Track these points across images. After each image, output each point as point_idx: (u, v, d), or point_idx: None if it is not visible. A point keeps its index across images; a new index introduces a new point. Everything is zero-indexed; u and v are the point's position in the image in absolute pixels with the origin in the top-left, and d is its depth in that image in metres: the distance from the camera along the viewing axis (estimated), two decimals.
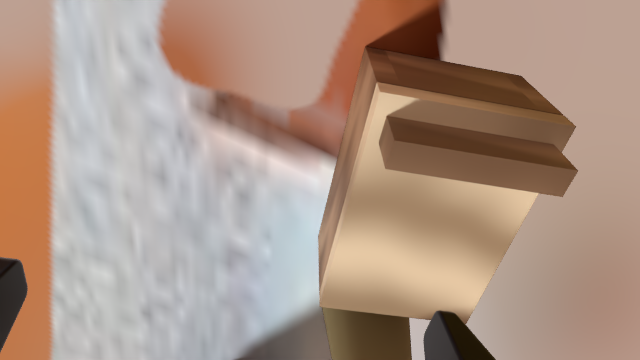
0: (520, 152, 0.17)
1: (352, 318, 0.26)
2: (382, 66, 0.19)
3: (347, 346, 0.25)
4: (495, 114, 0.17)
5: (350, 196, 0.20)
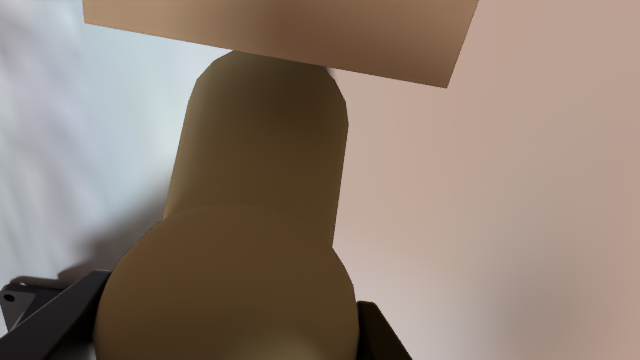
0: None
1: (211, 117, 0.12)
2: None
3: (187, 161, 0.11)
4: None
5: None
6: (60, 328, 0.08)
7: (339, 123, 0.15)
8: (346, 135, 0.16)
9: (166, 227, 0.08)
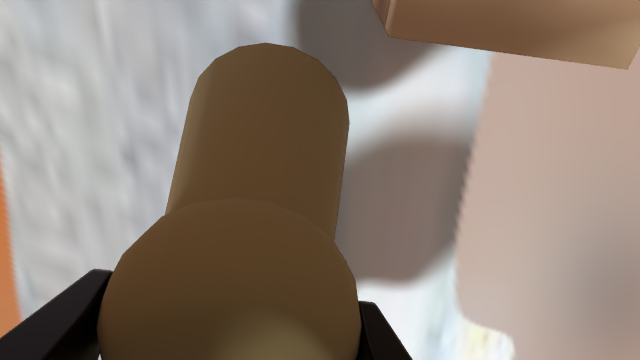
0: None
1: (213, 114, 0.13)
2: None
3: (190, 157, 0.12)
4: None
5: None
6: (60, 328, 0.08)
7: (340, 121, 0.15)
8: (347, 133, 0.16)
9: (170, 221, 0.08)
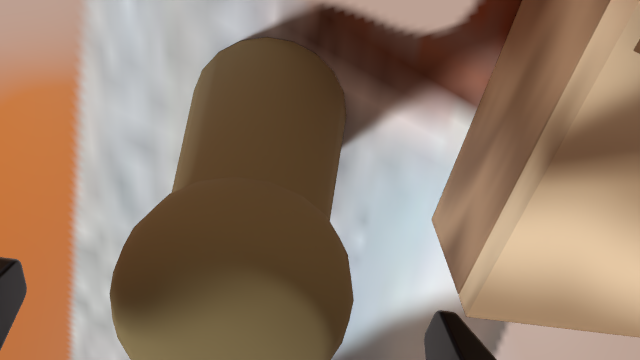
0: None
1: (217, 103, 0.13)
2: None
3: (195, 142, 0.12)
4: None
5: (557, 146, 0.12)
6: None
7: (337, 112, 0.16)
8: (344, 124, 0.17)
9: (178, 196, 0.09)
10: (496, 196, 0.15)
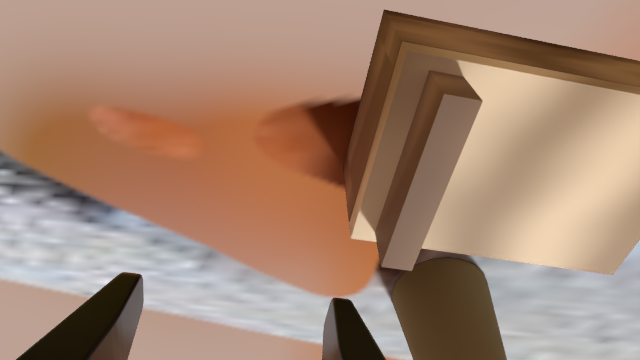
0: (418, 141, 0.15)
1: None
2: (348, 187, 0.21)
3: None
4: (382, 140, 0.16)
5: (462, 252, 0.19)
6: (95, 332, 0.08)
7: (436, 288, 0.26)
8: (449, 272, 0.26)
9: None
10: None
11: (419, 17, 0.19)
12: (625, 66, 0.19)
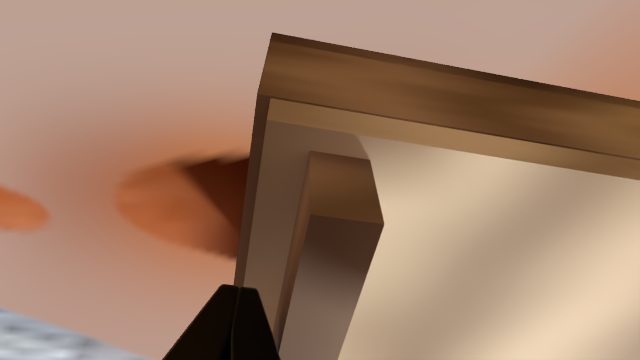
0: (291, 272, 0.09)
1: None
2: None
3: None
4: (252, 251, 0.10)
5: None
6: (215, 344, 0.08)
7: None
8: None
9: None
10: None
11: (324, 43, 0.13)
12: (626, 115, 0.13)
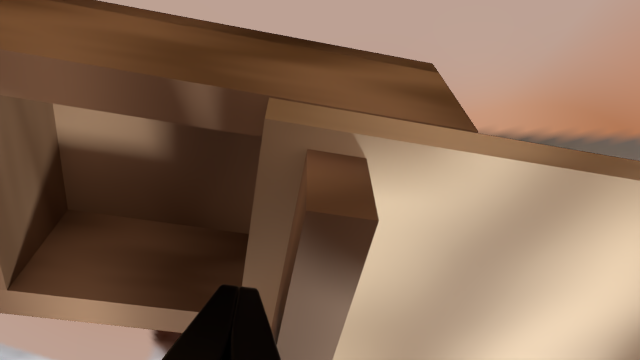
0: (288, 269, 0.09)
1: None
2: None
3: None
4: (251, 248, 0.10)
5: None
6: (215, 344, 0.08)
7: None
8: None
9: None
10: None
11: None
12: (384, 72, 0.12)
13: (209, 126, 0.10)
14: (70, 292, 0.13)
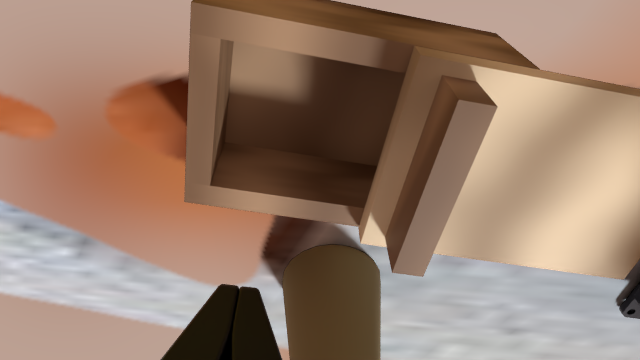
0: (431, 147, 0.15)
1: None
2: None
3: None
4: (394, 145, 0.16)
5: (472, 257, 0.19)
6: (214, 344, 0.08)
7: (315, 275, 0.25)
8: (331, 259, 0.25)
9: None
10: None
11: None
12: (469, 36, 0.18)
13: (372, 64, 0.16)
14: (250, 189, 0.19)
